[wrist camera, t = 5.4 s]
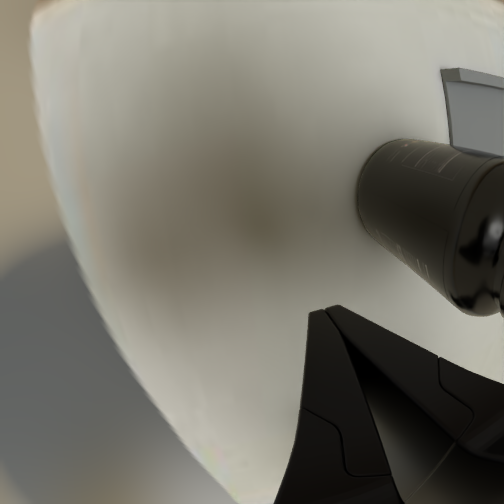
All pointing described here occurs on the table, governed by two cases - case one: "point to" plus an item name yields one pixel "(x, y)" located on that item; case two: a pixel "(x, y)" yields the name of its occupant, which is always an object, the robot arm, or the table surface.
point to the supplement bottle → (440, 217)
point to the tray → (475, 109)
